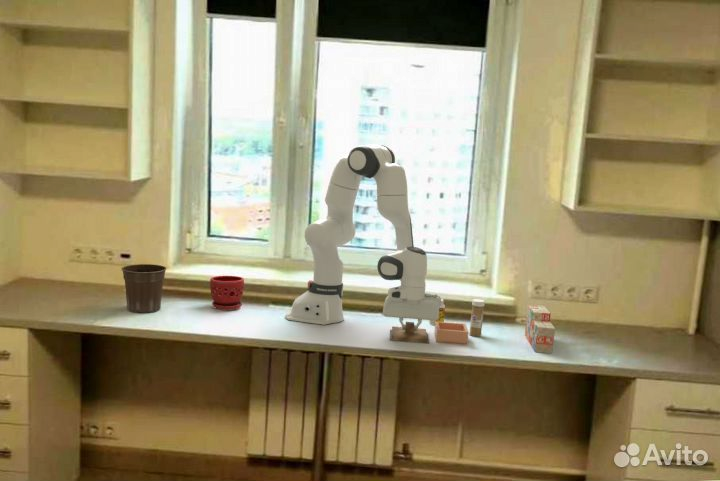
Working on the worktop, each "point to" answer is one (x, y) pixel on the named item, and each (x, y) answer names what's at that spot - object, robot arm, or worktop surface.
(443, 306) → the supplement bottle
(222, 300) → the plant pot
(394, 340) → the mat
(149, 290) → the plant pot
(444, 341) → the orange open box
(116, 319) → the worktop surface
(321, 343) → the worktop surface
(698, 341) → the worktop surface
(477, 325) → the sprinkles bottle
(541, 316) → the red and white cartons
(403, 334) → the lid
